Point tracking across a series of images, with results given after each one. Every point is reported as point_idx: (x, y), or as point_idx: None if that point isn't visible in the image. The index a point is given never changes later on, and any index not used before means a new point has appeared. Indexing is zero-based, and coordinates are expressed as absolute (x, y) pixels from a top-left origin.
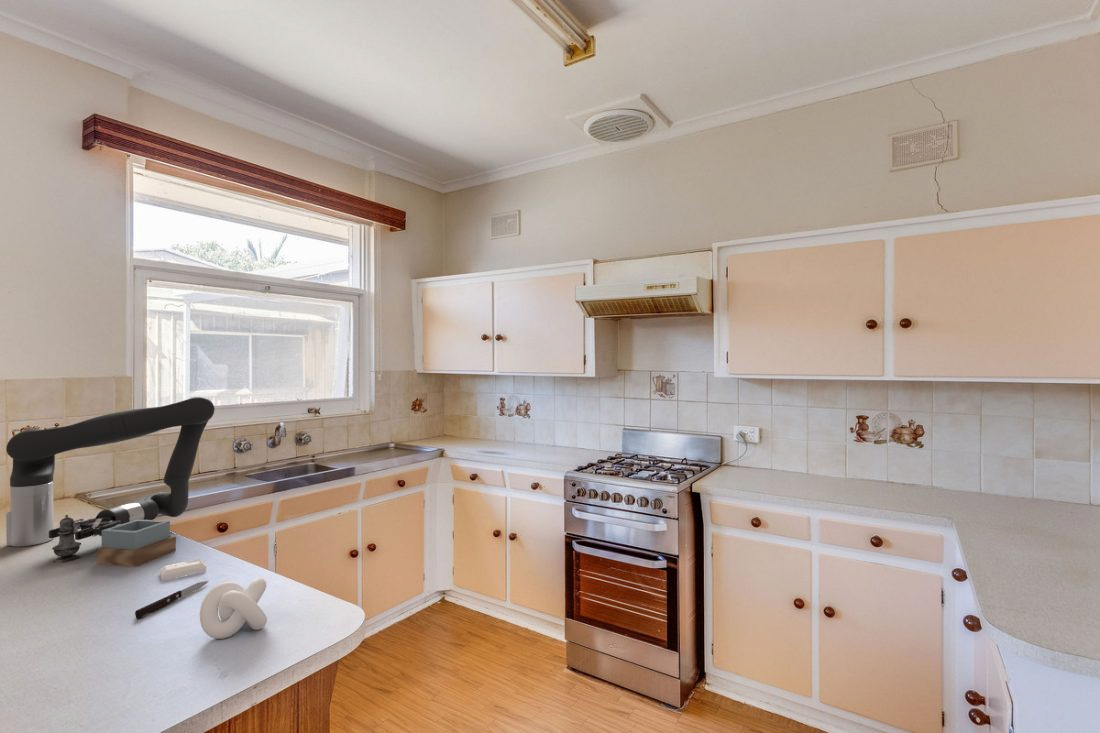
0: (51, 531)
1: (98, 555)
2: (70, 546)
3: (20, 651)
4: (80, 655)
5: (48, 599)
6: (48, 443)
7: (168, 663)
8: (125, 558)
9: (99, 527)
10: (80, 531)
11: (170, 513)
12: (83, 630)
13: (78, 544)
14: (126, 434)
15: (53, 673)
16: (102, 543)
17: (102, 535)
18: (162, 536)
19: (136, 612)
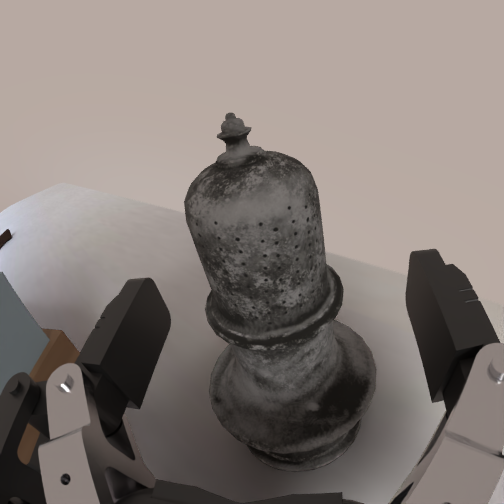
0: (410, 255)
1: (75, 352)
2: (231, 354)
3: (82, 191)
4: (43, 205)
5: (108, 228)
6: None
7: (3, 220)
8: None
9: (29, 376)
10: (121, 291)
11: None
12: (47, 216)
13: (219, 400)
14: None
15: (54, 195)
16: (35, 324)
17: (13, 292)
18: None
19: (8, 230)
